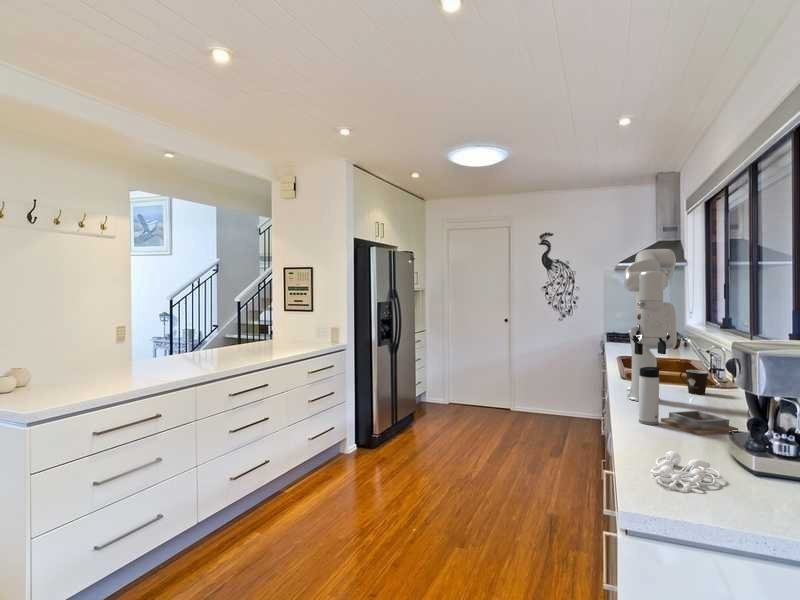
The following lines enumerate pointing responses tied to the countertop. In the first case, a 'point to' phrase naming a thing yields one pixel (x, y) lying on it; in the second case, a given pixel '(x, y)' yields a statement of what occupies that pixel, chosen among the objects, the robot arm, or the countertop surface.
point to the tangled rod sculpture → (682, 472)
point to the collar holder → (698, 422)
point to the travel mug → (649, 395)
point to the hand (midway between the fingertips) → (650, 354)
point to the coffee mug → (696, 381)
